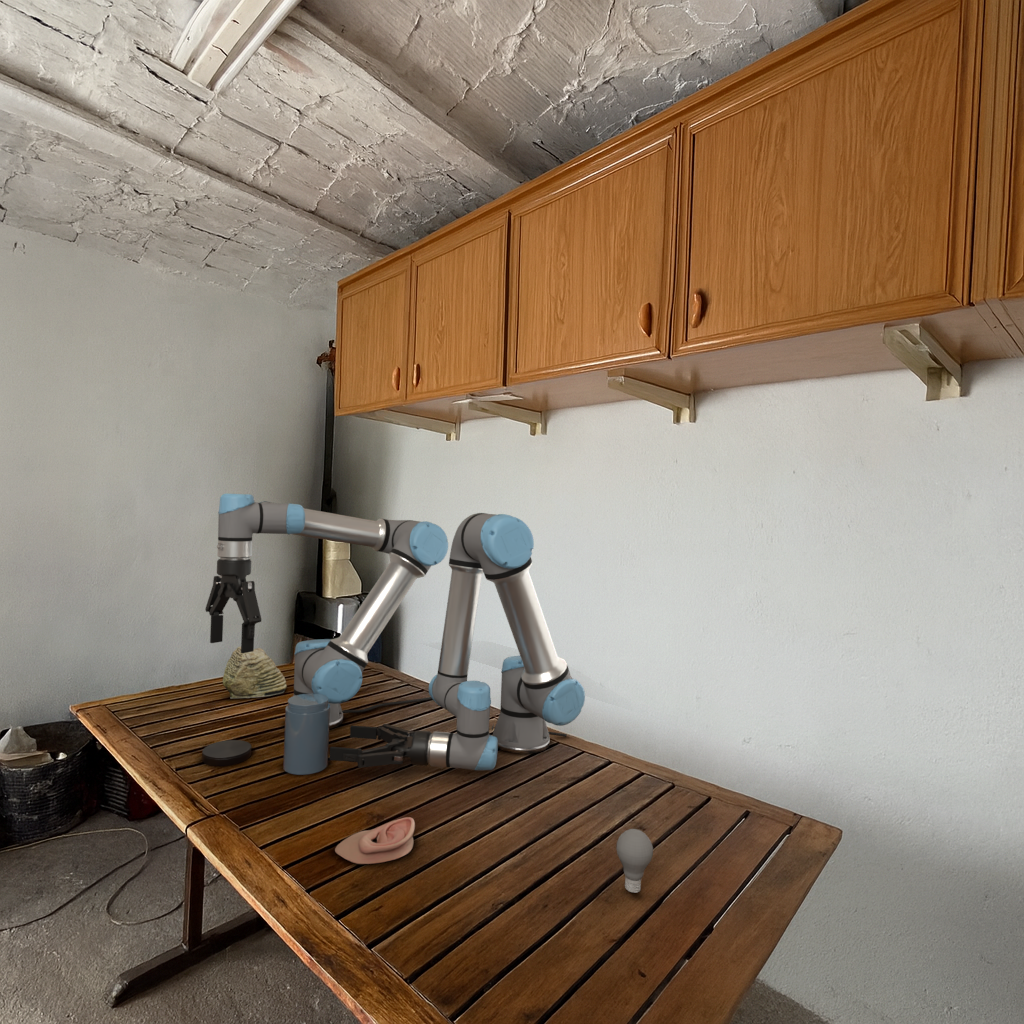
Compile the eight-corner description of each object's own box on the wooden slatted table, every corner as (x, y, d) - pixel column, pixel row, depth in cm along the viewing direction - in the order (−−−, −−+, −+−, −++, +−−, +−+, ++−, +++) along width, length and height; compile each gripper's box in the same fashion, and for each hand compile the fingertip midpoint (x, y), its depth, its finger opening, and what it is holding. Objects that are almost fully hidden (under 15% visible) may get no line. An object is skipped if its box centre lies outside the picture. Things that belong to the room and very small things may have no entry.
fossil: (218, 695, 195) (220, 647, 195) (278, 685, 208) (279, 640, 207) (228, 703, 189) (230, 653, 188) (289, 692, 201) (290, 645, 201)
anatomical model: (327, 836, 111) (356, 806, 122) (326, 858, 111) (355, 826, 122) (398, 848, 108) (421, 815, 119) (397, 871, 108) (420, 836, 119)
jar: (320, 775, 144) (322, 707, 143) (276, 773, 144) (279, 705, 143) (333, 758, 154) (335, 693, 153) (292, 756, 154) (294, 691, 153)
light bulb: (610, 879, 108) (613, 822, 108) (644, 879, 109) (647, 822, 109) (619, 902, 102) (622, 840, 102) (655, 901, 103) (658, 840, 103)
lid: (208, 749, 156) (208, 740, 156) (254, 747, 158) (255, 739, 158) (196, 767, 145) (197, 758, 145) (246, 765, 148) (246, 756, 147)
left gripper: (192, 554, 155) (189, 640, 155) (249, 564, 140) (245, 659, 141) (221, 553, 161) (218, 636, 162) (279, 562, 146) (275, 653, 147)
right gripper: (417, 789, 134) (319, 781, 136) (440, 744, 159) (357, 738, 160) (418, 753, 134) (321, 746, 135) (441, 714, 159) (358, 708, 160)
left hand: (231, 647), depth 151 cm, fingers open, 13 cm apart
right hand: (340, 741), depth 148 cm, fingers open, 13 cm apart
